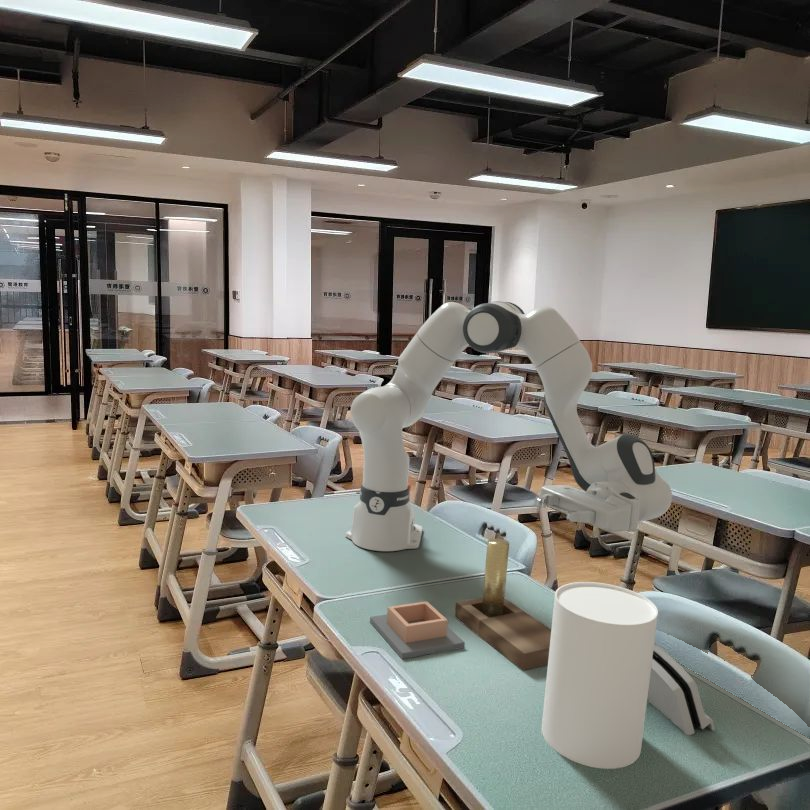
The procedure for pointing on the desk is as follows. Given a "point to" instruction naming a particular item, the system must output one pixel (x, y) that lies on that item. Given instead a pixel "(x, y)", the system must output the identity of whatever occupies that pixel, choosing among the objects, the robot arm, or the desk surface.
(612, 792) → the desk surface
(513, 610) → the wooden block with recess
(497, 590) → the axle
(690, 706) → the white slotted casing
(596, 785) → the desk surface
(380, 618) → the stand
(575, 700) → the canister
